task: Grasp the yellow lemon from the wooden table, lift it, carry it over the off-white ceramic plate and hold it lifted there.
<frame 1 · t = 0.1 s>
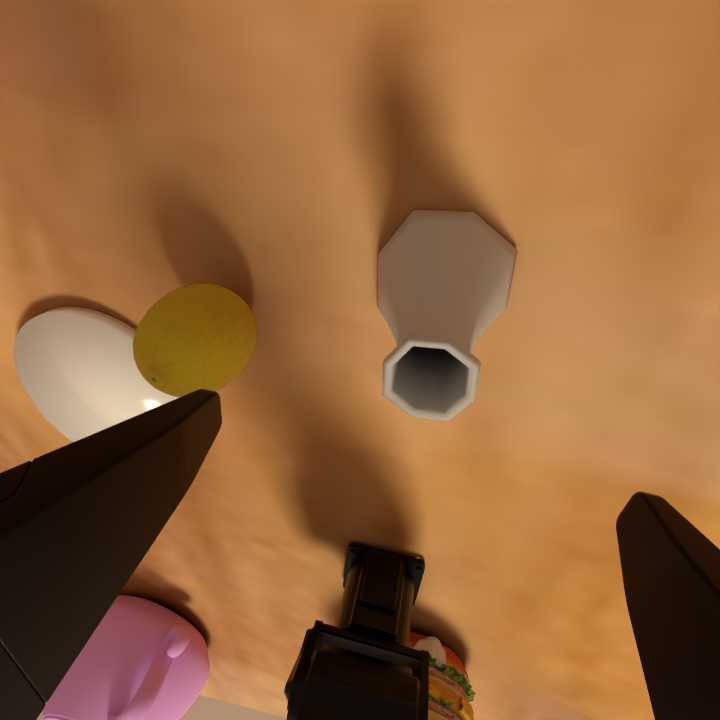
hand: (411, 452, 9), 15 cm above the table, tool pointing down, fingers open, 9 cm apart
flask: (442, 276, 22), on the table
burger: (406, 650, 43), on the table
plate: (110, 390, 32), on the table
lemon: (236, 307, 26), on the table
teapot: (143, 612, 52), on the table
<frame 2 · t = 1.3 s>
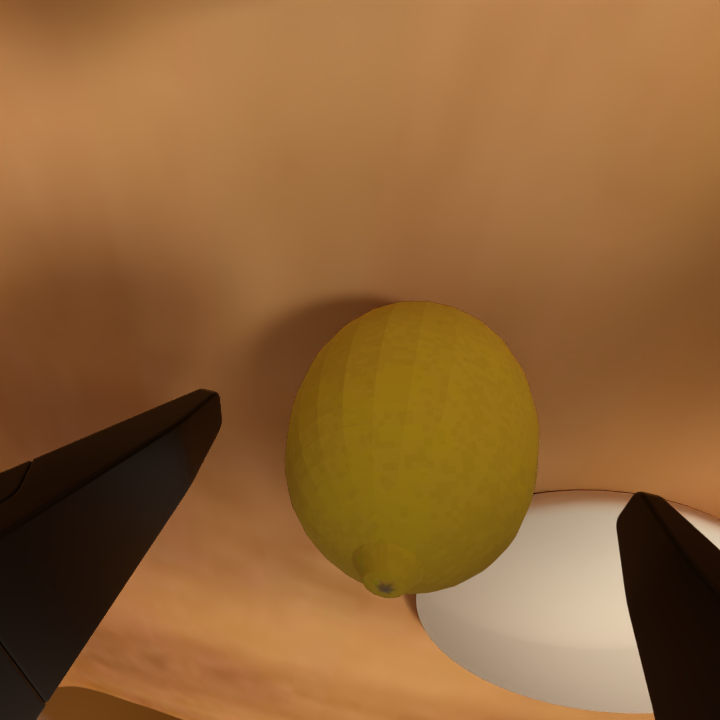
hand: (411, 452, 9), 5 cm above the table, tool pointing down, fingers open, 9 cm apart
plate: (580, 605, 18), on the table
lemon: (425, 342, 13), on the table
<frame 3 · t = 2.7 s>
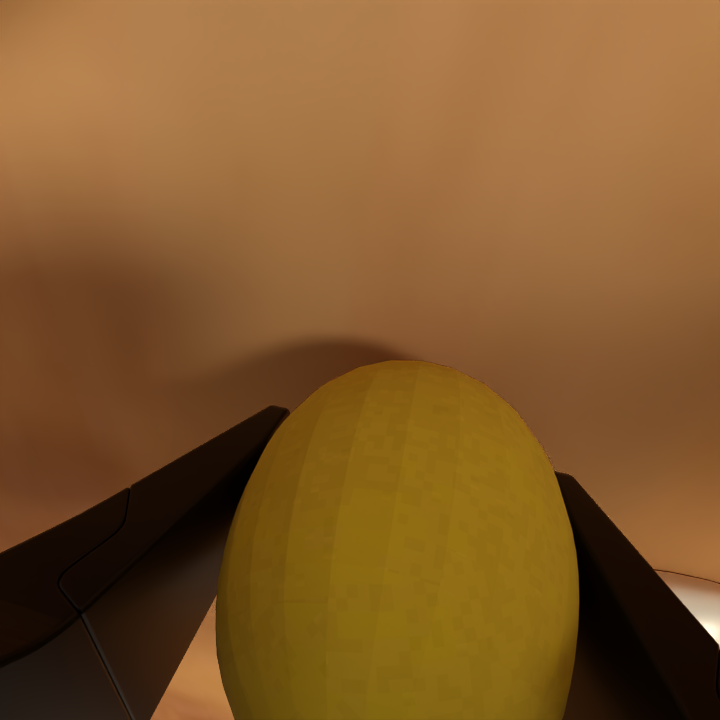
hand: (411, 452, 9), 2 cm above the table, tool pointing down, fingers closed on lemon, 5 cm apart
plate: (602, 684, 15), on the table
lemon: (420, 393, 11), on the table, touching gripper
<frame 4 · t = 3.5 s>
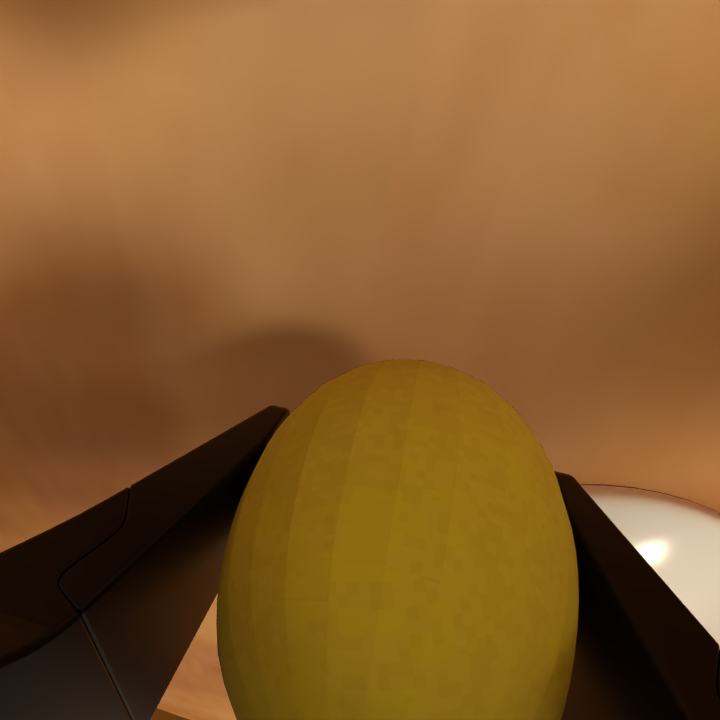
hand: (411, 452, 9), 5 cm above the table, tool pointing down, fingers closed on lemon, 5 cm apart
plate: (582, 600, 18), on the table
lemon: (420, 393, 11), point 3 cm above the table, touching gripper
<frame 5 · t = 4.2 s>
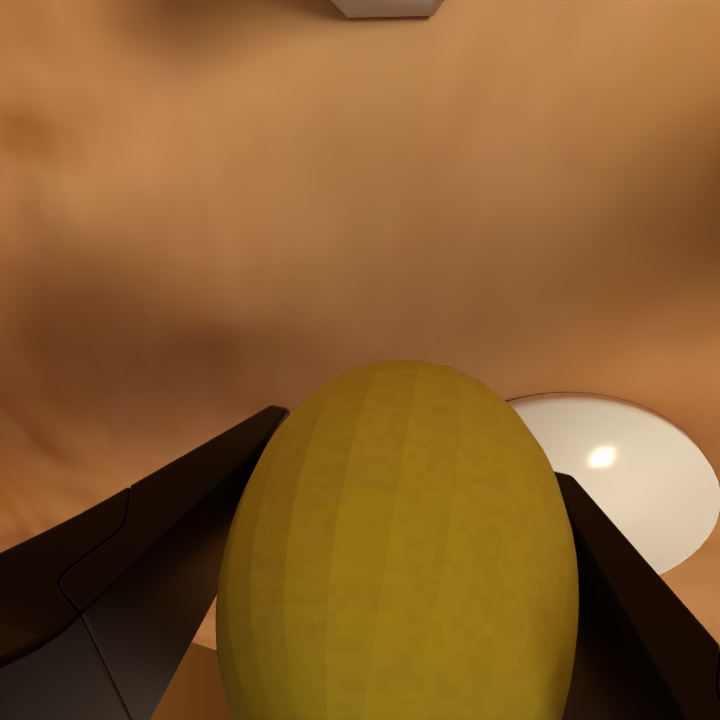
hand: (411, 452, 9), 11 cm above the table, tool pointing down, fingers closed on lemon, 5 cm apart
plate: (556, 497, 23), on the table
lemon: (420, 393, 11), point 9 cm above the table, touching gripper
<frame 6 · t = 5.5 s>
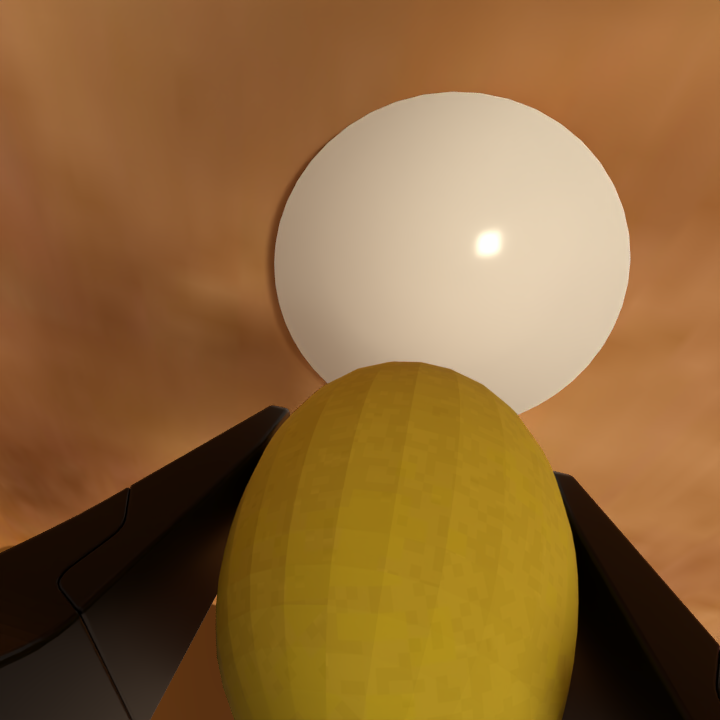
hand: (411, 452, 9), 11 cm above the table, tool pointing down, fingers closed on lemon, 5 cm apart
plate: (436, 285, 18), on the table
lemon: (420, 394, 11), point 8 cm above the table, touching gripper
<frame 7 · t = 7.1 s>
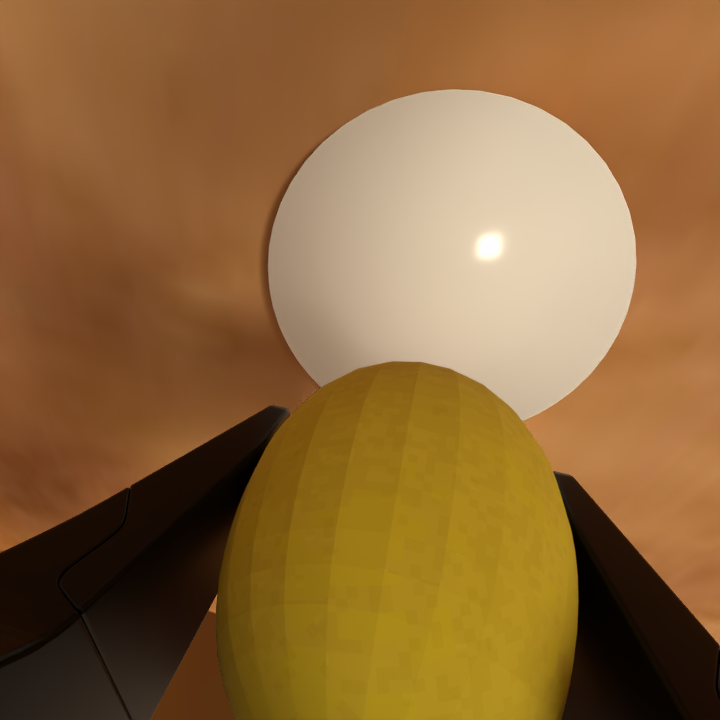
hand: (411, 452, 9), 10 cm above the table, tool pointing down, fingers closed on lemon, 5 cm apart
plate: (435, 290, 17), on the table
lemon: (420, 394, 11), point 8 cm above the table, touching gripper
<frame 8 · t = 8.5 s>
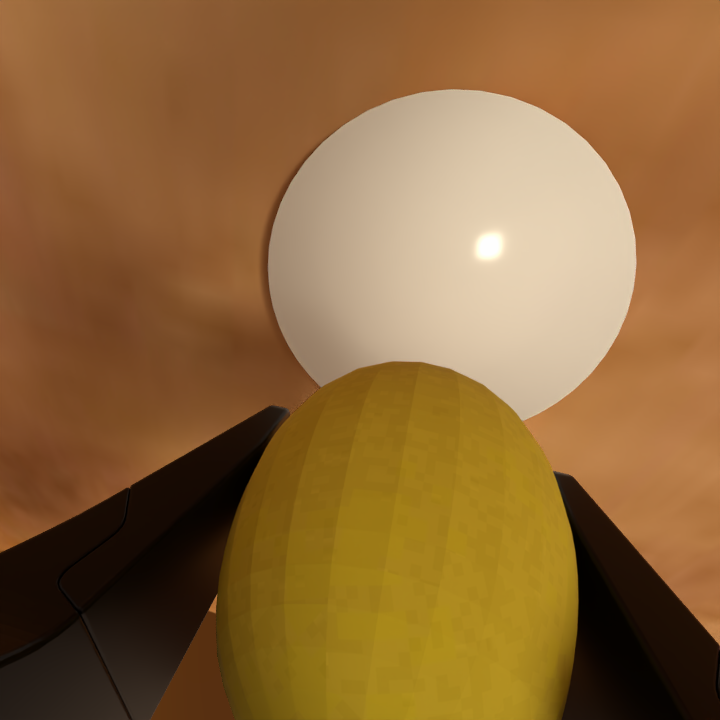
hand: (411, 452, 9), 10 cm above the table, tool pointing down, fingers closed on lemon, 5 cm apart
plate: (435, 290, 17), on the table
lemon: (420, 394, 11), point 8 cm above the table, touching gripper
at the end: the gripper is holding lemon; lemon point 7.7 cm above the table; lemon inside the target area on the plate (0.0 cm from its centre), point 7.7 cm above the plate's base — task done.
